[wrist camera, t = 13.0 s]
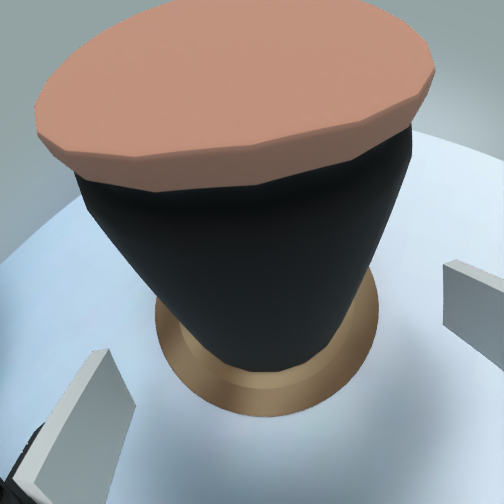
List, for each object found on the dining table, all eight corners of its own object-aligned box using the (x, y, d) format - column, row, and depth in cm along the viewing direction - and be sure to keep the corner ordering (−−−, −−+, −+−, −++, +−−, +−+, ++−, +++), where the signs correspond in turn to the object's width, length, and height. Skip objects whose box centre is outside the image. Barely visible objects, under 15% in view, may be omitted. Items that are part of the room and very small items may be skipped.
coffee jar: (237, 216, 26) (187, -12, 11) (364, 266, 23) (439, 16, 7) (163, 330, 22) (-19, 127, 6) (303, 403, 18) (399, 273, 3)
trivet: (133, 382, 21) (126, 378, 20) (197, 206, 29) (194, 197, 28) (357, 434, 18) (361, 434, 17) (379, 232, 26) (383, 223, 24)
